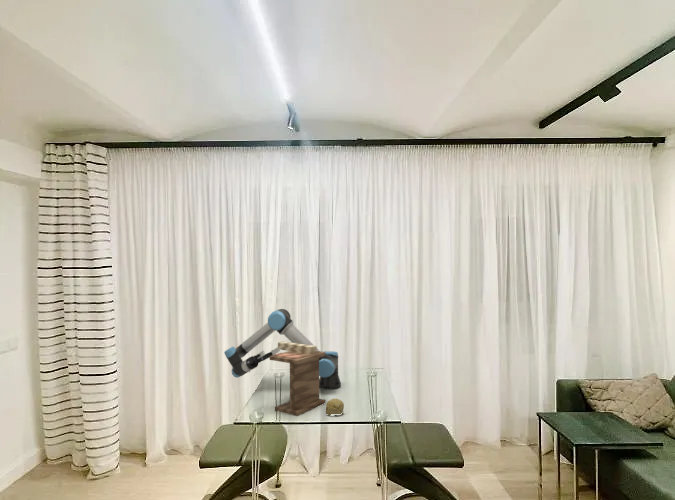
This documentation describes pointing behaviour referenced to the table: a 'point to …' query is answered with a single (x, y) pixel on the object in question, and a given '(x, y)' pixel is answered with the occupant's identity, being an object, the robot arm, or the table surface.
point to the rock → (334, 406)
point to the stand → (301, 381)
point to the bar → (297, 347)
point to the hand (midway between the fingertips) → (271, 350)
